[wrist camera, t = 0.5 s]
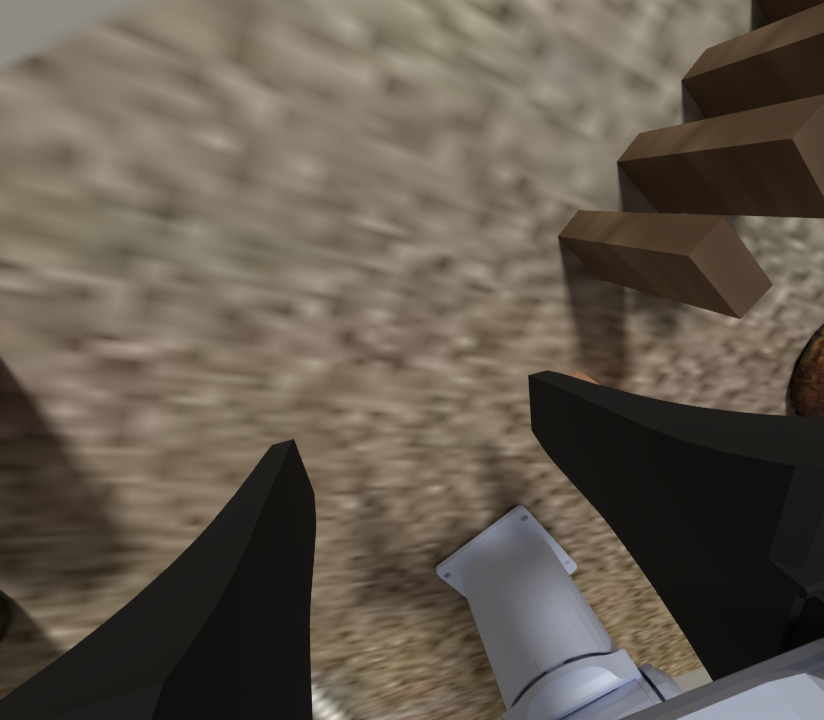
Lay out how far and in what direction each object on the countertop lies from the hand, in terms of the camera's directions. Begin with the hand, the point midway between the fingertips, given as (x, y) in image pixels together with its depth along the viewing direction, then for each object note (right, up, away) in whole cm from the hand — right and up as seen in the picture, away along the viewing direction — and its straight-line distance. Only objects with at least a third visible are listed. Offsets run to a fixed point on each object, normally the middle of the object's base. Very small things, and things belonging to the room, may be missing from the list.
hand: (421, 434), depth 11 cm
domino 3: (+10, +8, +9) cm, 16 cm away
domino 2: (+12, +12, +9) cm, 19 cm away
